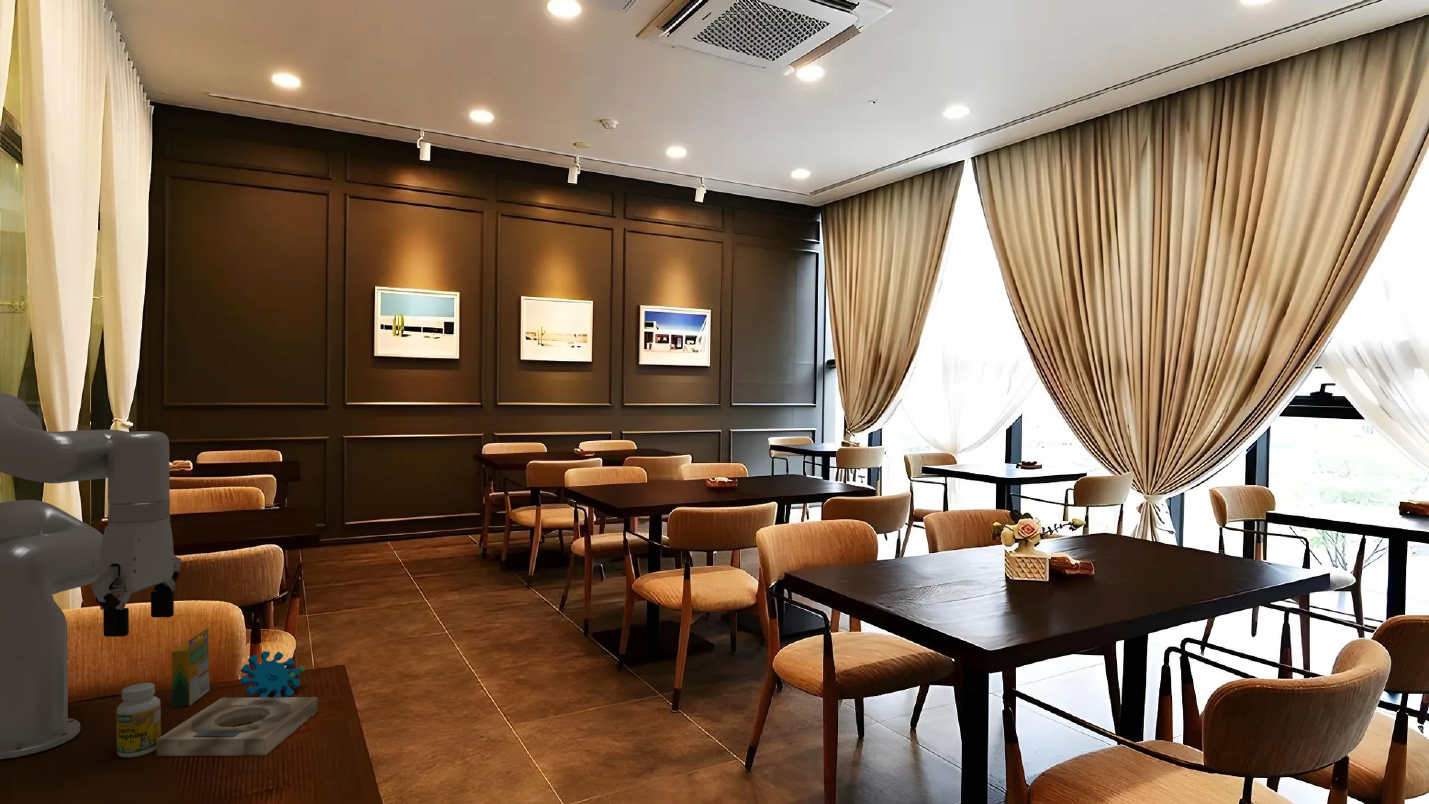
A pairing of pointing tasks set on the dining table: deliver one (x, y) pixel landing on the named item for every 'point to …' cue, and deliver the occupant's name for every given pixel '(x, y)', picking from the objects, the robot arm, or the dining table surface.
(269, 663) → the blue virus toy
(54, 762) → the dining table surface
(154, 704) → the supplement bottle
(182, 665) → the crayon box
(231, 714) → the socket board
